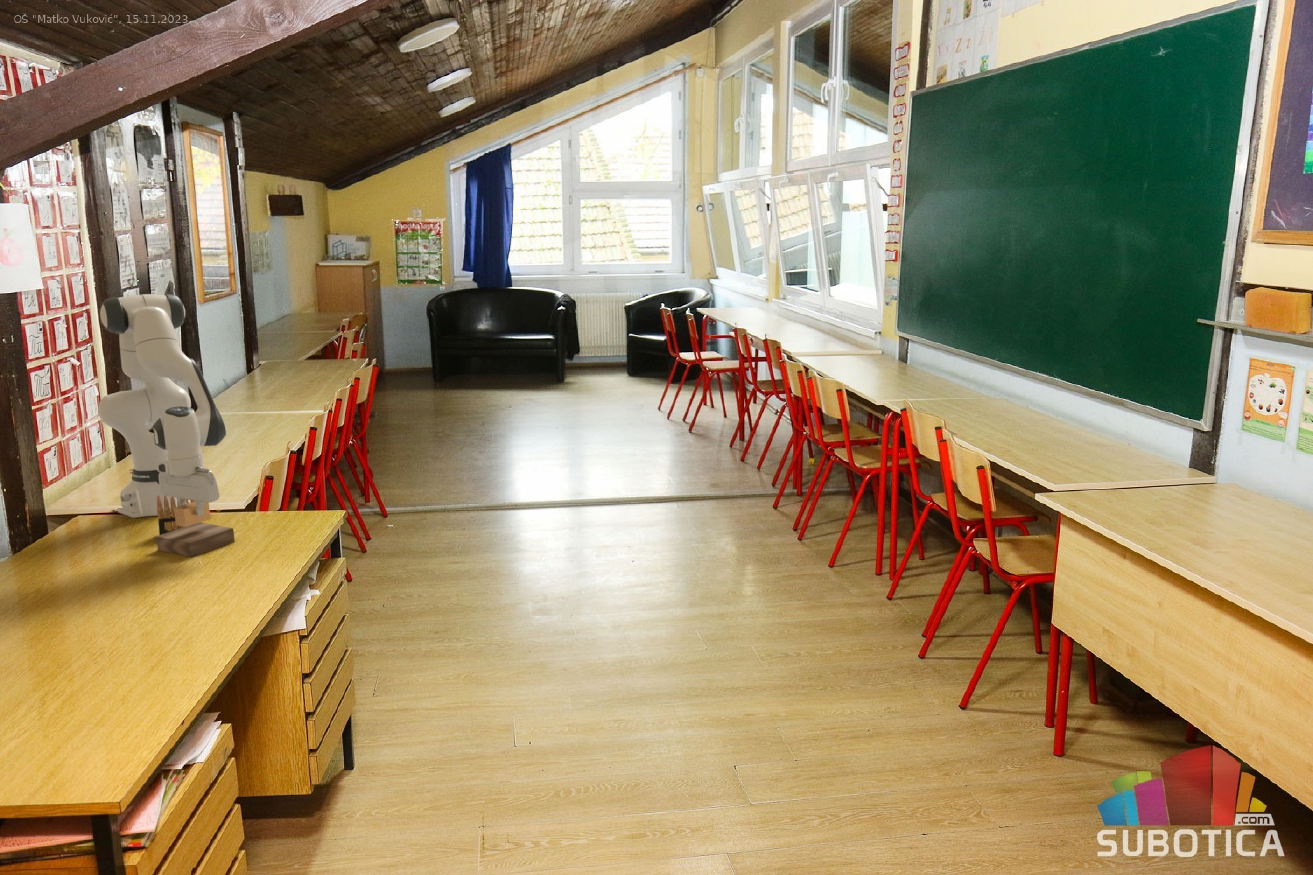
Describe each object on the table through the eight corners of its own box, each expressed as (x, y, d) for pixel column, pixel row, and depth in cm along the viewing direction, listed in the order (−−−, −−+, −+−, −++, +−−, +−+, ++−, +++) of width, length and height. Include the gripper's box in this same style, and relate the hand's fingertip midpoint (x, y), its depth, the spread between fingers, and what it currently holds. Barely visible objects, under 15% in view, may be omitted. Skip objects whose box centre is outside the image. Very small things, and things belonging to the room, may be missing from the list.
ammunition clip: (200, 529, 285) (195, 490, 283) (199, 531, 283) (194, 492, 281) (160, 534, 282) (155, 494, 279) (159, 536, 280) (154, 496, 277)
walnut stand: (157, 549, 268) (155, 536, 267) (201, 535, 280) (199, 522, 279) (191, 557, 261) (189, 543, 261) (234, 541, 274) (233, 528, 273)
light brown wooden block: (176, 525, 266) (173, 507, 265) (201, 517, 273) (198, 500, 272) (185, 526, 265) (183, 509, 264) (210, 518, 272) (208, 501, 270)
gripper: (221, 466, 264) (227, 515, 267) (172, 460, 273) (178, 506, 276) (201, 472, 258) (208, 521, 261) (152, 465, 267) (158, 512, 270)
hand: (192, 513), depth 269 cm, fingers closed on light brown wooden block, 4 cm apart
